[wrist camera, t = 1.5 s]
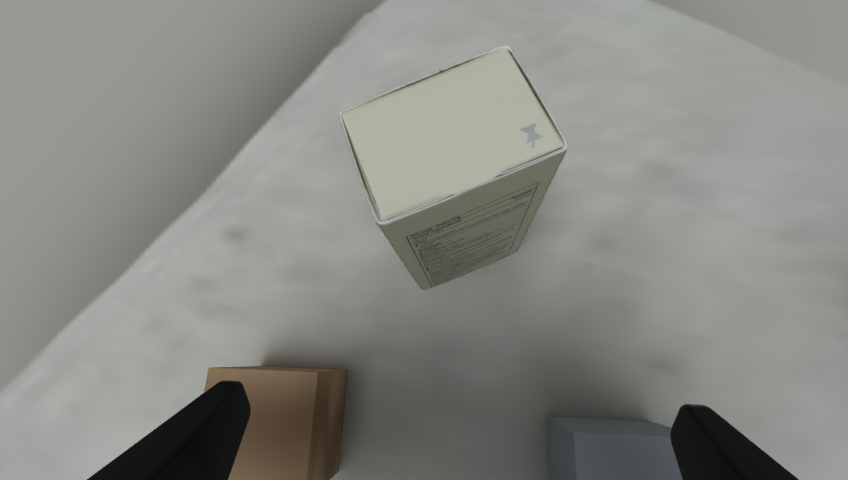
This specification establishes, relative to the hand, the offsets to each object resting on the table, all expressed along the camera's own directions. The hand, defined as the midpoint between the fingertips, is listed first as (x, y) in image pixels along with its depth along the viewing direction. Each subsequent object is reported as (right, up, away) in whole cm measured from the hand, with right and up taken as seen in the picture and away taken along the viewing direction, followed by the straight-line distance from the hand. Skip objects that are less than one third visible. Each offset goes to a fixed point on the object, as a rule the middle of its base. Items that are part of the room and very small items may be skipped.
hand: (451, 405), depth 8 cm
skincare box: (+1, +3, +16) cm, 16 cm away
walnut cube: (-7, -6, +13) cm, 16 cm away
